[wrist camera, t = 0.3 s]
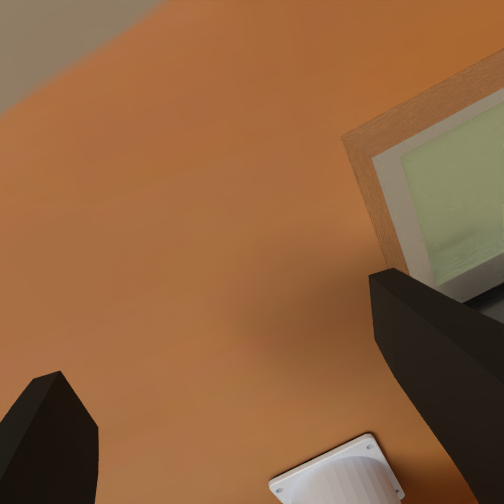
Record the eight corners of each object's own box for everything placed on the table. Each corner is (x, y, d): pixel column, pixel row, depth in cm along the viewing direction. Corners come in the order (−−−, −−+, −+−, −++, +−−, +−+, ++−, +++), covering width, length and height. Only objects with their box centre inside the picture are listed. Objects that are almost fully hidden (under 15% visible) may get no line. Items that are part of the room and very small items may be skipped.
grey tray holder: (541, 301, 26) (583, 334, 24) (422, 360, 27) (451, 398, 24) (513, 43, 18) (573, 50, 15) (341, 136, 18) (371, 158, 16)
